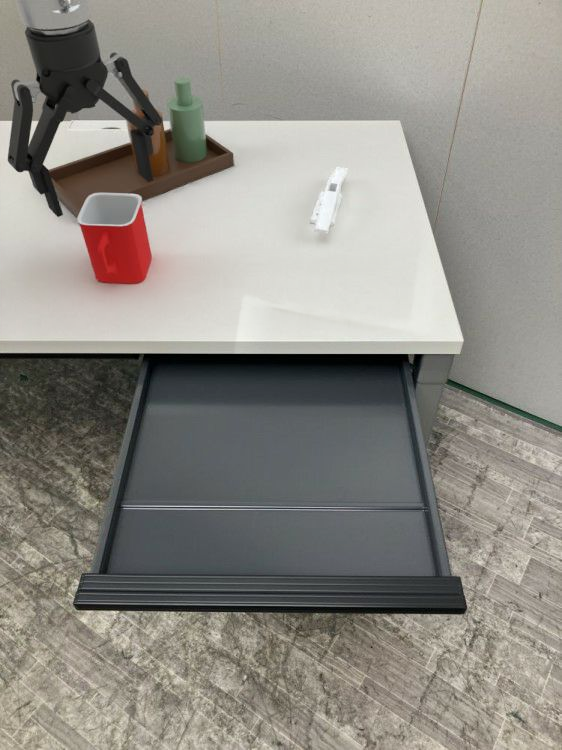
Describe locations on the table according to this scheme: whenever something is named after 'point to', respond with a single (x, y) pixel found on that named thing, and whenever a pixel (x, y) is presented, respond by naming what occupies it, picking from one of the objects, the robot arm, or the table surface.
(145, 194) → the tray
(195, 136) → the sage bottle
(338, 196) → the white long narrow piece
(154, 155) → the amber bottle
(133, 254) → the mug
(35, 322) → the table surface
